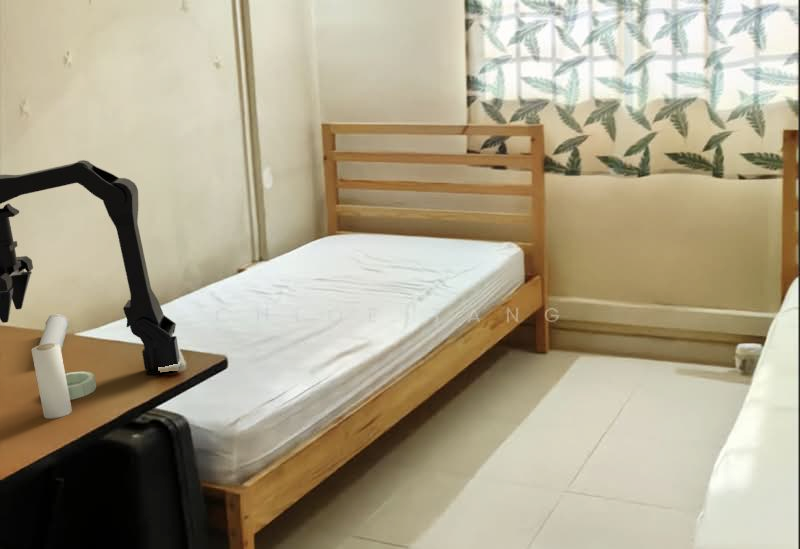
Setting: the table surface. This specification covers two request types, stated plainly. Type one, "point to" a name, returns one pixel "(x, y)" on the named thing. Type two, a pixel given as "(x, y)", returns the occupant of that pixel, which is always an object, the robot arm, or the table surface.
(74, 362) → the table surface
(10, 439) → the table surface
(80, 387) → the holder
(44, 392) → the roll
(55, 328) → the tube
